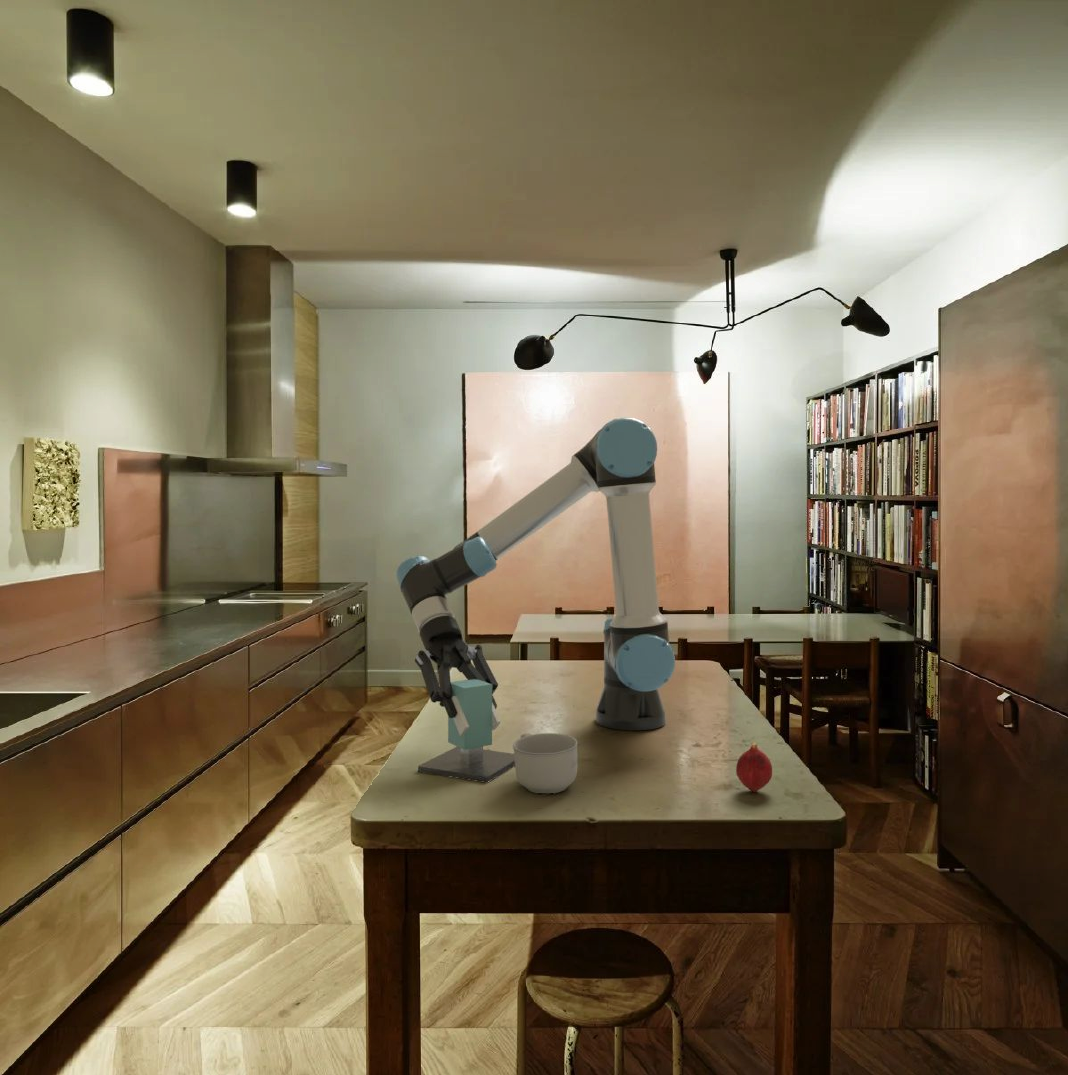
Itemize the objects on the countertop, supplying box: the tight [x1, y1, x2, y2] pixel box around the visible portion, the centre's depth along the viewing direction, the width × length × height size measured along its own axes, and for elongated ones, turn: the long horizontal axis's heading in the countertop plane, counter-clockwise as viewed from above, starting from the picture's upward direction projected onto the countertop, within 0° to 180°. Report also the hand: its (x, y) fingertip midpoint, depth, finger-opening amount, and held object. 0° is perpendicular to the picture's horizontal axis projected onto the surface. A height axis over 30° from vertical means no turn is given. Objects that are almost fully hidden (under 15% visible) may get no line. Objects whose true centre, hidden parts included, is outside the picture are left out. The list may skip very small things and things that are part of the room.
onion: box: [735, 742, 773, 793], centre depth 139 cm, size 6×6×8 cm
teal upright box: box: [447, 679, 493, 750], centre depth 153 cm, size 6×6×11 cm
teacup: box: [512, 732, 579, 794], centre depth 142 cm, size 14×11×8 cm
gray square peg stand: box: [417, 746, 515, 783], centre depth 153 cm, size 14×14×9 cm
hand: (480, 728), depth 150 cm, fingers closed on teal upright box, 6 cm apart
